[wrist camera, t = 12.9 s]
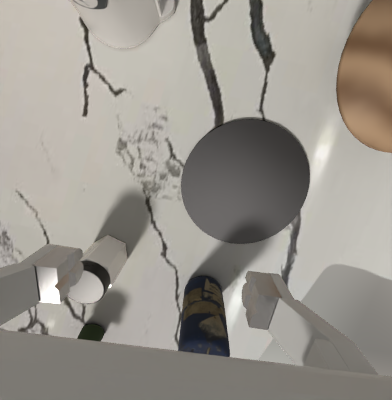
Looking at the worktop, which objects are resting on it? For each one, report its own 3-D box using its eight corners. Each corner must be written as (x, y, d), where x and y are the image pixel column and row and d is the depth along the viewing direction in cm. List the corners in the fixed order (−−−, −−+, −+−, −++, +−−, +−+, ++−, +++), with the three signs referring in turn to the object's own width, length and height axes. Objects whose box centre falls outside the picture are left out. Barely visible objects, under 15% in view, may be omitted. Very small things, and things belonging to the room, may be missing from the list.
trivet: (191, 108, 37) (191, 107, 37) (328, 132, 38) (329, 132, 38) (173, 233, 46) (173, 233, 45) (285, 250, 46) (286, 251, 46)
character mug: (72, 320, 55) (35, 374, 42) (93, 312, 54) (61, 365, 41) (95, 345, 58) (66, 403, 45) (115, 338, 57) (91, 394, 44)
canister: (228, 283, 50) (243, 360, 33) (209, 308, 52) (213, 391, 35) (196, 266, 48) (194, 338, 31) (177, 292, 51) (166, 372, 34)
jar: (115, 229, 46) (86, 260, 34) (135, 255, 48) (115, 293, 36) (85, 246, 47) (49, 281, 36) (106, 270, 49) (78, 311, 38)
